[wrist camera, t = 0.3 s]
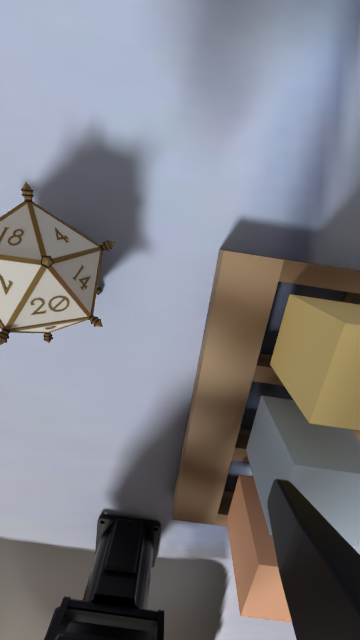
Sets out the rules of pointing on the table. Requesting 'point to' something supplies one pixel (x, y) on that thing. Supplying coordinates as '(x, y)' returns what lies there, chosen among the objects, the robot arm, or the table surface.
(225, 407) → the wooden slotted tray
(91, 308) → the game die
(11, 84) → the table surface
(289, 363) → the olive yellow block
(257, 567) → the orange brown block
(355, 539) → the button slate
